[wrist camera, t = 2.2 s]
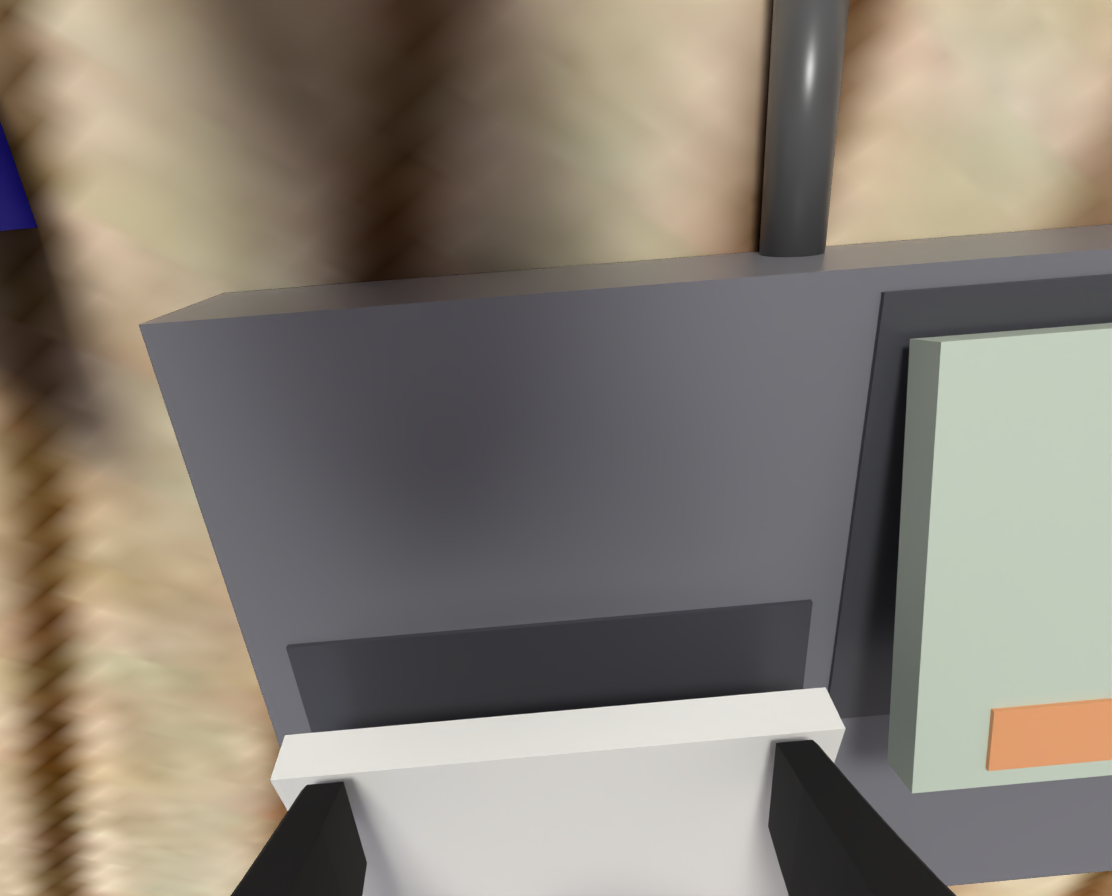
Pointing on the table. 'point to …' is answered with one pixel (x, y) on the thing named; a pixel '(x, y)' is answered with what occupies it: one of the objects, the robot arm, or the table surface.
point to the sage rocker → (1005, 561)
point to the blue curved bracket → (12, 193)
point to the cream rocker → (569, 797)
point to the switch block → (617, 476)
